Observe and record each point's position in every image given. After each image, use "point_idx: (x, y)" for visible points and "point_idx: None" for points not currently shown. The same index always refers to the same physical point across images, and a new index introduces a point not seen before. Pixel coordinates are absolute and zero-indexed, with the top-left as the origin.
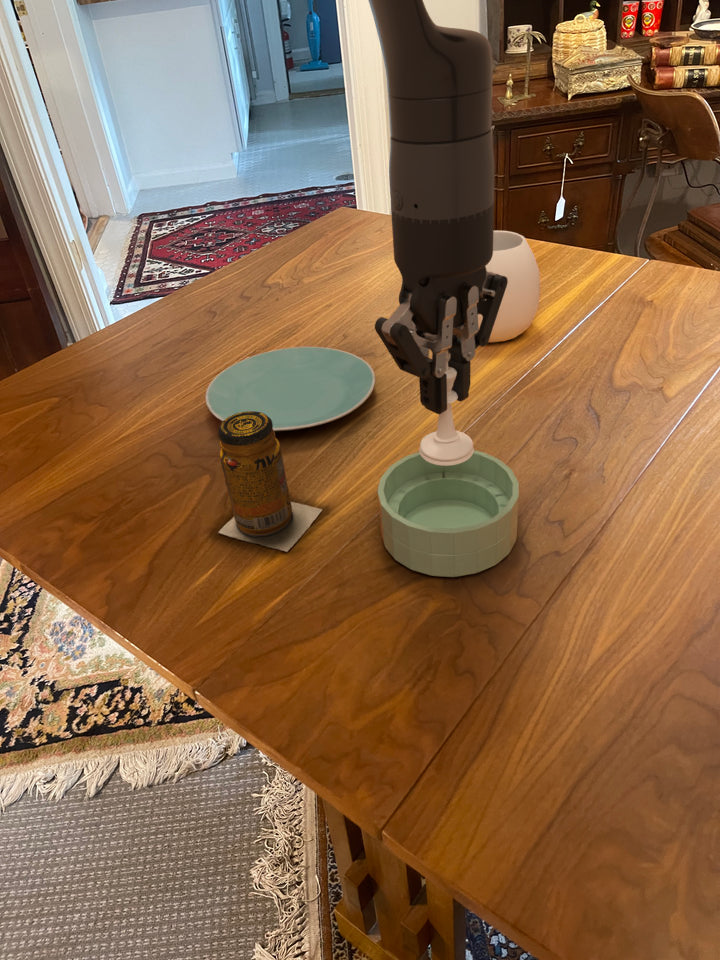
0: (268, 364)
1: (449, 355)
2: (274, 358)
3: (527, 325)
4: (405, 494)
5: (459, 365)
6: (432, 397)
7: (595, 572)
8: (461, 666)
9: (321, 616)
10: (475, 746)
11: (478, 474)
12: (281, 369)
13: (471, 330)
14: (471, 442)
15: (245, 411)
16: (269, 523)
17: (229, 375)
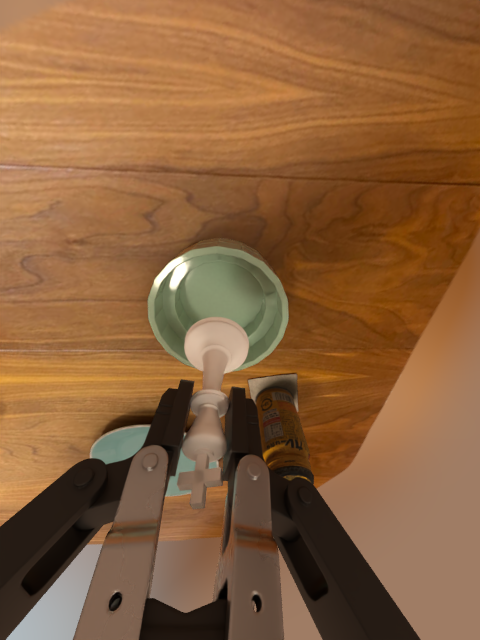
0: None
1: (183, 483)
2: None
3: None
4: None
5: (179, 447)
6: (258, 422)
7: (191, 146)
8: (352, 210)
9: (339, 324)
10: (427, 156)
11: (162, 308)
12: None
13: (134, 565)
14: (198, 328)
15: (193, 464)
16: (288, 396)
17: (172, 490)
